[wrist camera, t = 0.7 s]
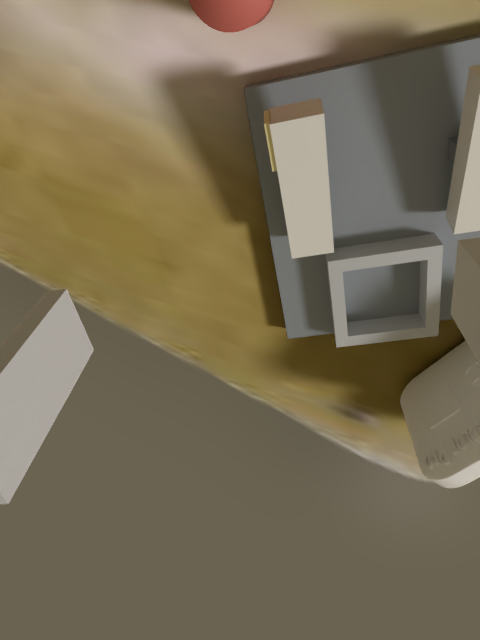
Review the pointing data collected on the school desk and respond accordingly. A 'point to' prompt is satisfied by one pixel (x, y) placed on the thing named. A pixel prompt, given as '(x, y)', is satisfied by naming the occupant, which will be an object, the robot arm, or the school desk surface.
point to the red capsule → (231, 13)
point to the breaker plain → (467, 163)
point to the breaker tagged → (302, 174)
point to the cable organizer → (446, 418)
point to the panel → (374, 194)
